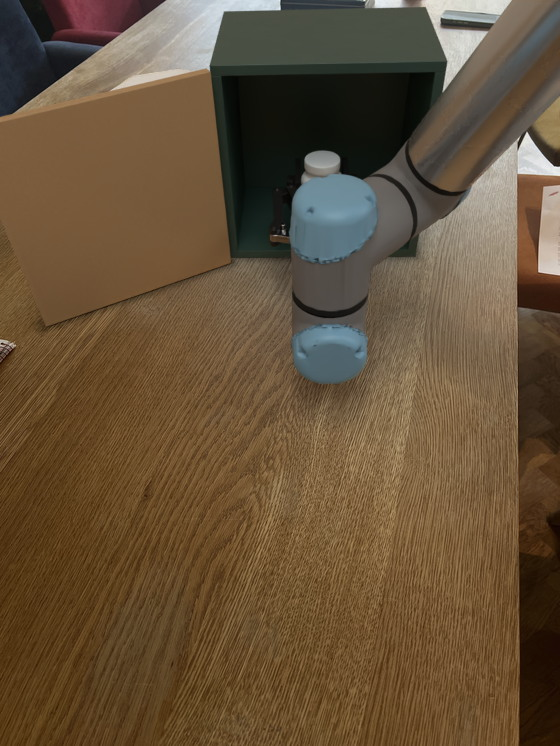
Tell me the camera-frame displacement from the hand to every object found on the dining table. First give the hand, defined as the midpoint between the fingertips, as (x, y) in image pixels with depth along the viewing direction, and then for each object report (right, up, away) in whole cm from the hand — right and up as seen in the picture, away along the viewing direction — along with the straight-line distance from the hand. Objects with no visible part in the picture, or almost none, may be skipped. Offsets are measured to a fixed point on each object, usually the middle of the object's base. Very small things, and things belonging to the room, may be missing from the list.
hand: (321, 166), depth 86 cm
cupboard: (0, -6, +7) cm, 9 cm away
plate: (-28, +26, +38) cm, 54 cm away
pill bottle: (0, -8, +1) cm, 8 cm away
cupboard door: (-26, -16, -1) cm, 30 cm away
